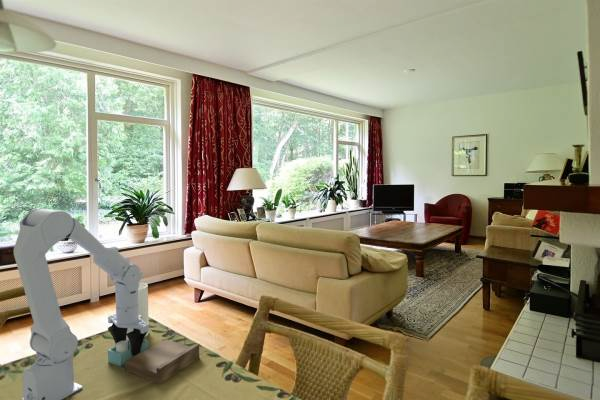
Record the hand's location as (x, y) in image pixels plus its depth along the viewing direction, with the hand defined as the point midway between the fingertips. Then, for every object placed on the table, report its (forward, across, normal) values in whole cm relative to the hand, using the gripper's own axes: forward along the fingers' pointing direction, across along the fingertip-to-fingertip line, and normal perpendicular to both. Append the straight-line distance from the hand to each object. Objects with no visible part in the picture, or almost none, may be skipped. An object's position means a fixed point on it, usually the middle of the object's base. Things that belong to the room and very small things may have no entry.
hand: (128, 351), depth 102 cm
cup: (+2, +10, -10) cm, 14 cm away
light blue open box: (+2, 0, 0) cm, 2 cm away
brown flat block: (+2, -12, -2) cm, 12 cm away
